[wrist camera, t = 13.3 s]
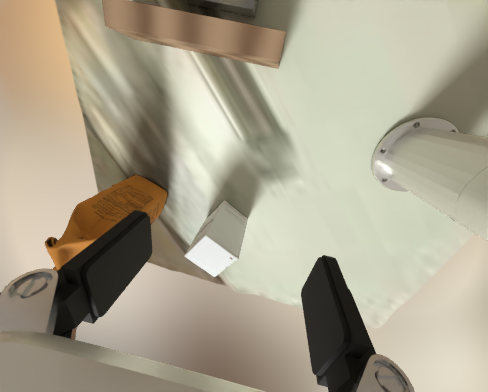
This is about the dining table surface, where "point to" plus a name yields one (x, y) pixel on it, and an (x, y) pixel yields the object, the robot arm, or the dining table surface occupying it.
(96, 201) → the coffee package
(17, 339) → the robot arm
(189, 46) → the brown plank
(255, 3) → the grey square tray
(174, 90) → the dining table surface
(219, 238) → the supplement box
